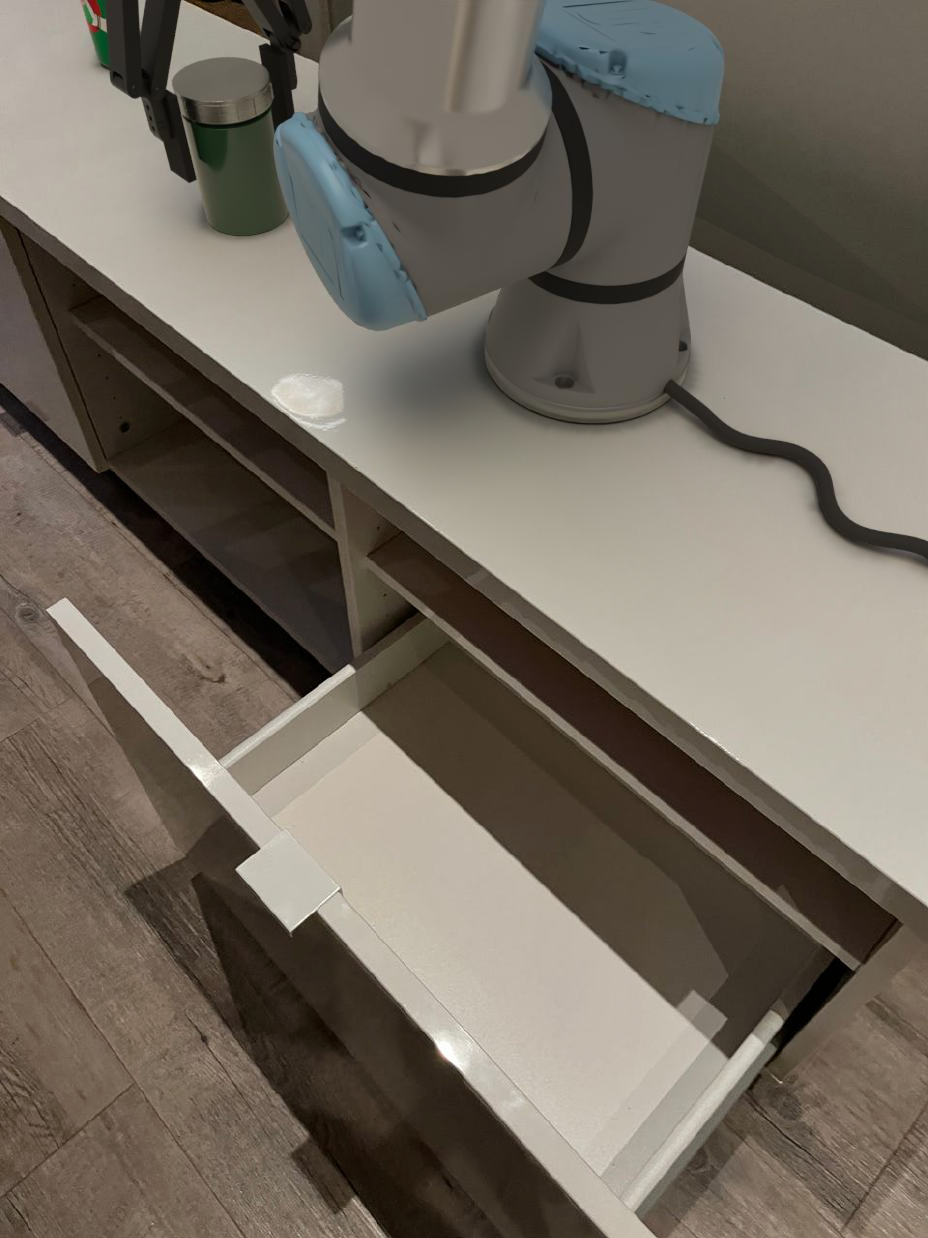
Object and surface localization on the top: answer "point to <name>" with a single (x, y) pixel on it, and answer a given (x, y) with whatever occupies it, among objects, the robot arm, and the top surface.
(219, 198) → the jar
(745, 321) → the top surface
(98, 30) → the soda can
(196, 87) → the lid
